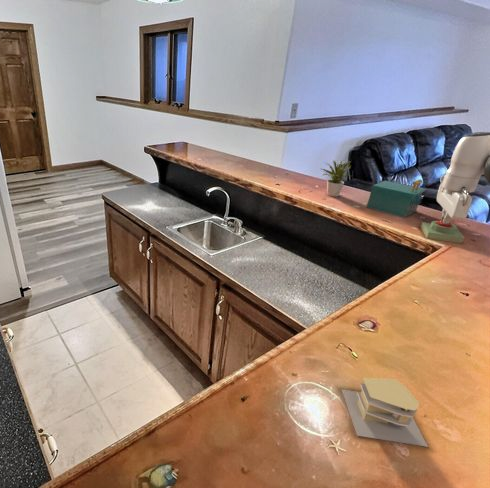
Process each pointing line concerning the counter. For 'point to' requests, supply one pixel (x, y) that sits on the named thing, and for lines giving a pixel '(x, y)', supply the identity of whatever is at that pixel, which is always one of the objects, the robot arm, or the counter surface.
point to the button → (443, 224)
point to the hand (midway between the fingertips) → (444, 222)
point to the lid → (401, 187)
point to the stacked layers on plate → (384, 411)
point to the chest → (393, 202)
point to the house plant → (336, 178)
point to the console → (441, 232)
